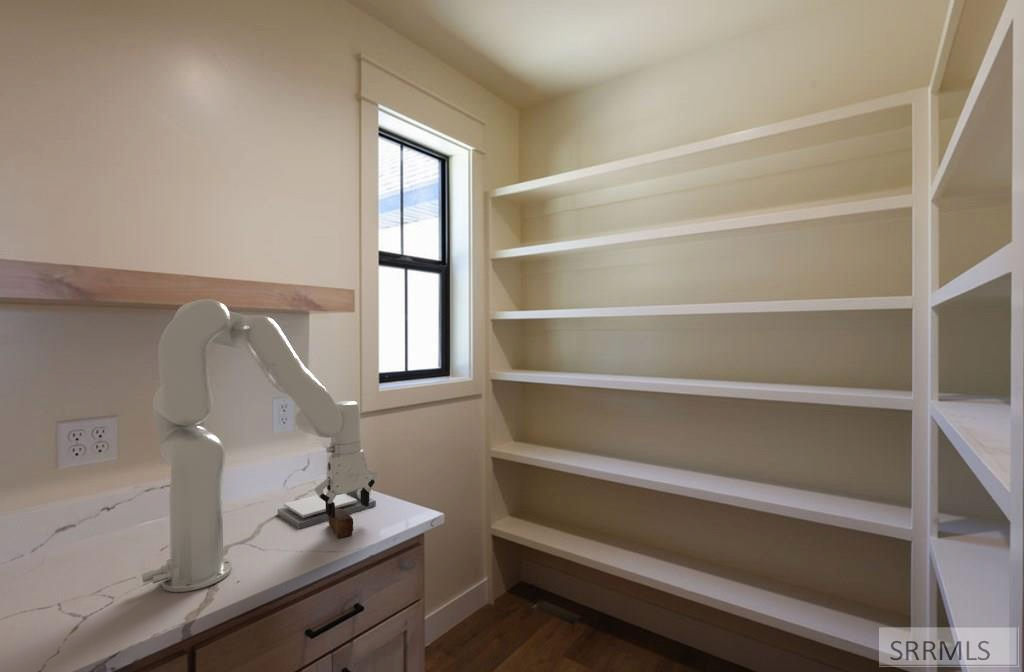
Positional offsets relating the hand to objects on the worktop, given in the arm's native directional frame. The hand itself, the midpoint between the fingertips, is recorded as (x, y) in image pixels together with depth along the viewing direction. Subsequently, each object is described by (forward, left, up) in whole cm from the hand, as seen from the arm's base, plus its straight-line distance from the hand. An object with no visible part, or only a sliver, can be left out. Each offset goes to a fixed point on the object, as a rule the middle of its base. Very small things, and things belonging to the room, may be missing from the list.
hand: (348, 510), depth 128 cm
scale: (+2, +17, -5) cm, 18 cm away
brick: (-2, 0, -5) cm, 5 cm away
